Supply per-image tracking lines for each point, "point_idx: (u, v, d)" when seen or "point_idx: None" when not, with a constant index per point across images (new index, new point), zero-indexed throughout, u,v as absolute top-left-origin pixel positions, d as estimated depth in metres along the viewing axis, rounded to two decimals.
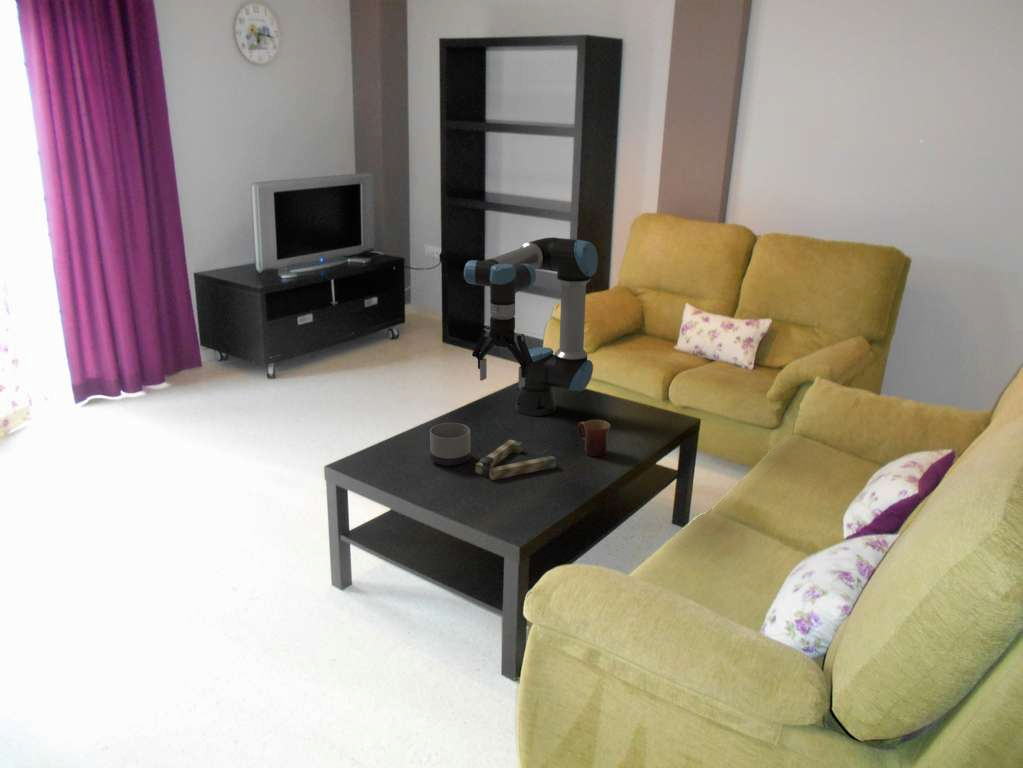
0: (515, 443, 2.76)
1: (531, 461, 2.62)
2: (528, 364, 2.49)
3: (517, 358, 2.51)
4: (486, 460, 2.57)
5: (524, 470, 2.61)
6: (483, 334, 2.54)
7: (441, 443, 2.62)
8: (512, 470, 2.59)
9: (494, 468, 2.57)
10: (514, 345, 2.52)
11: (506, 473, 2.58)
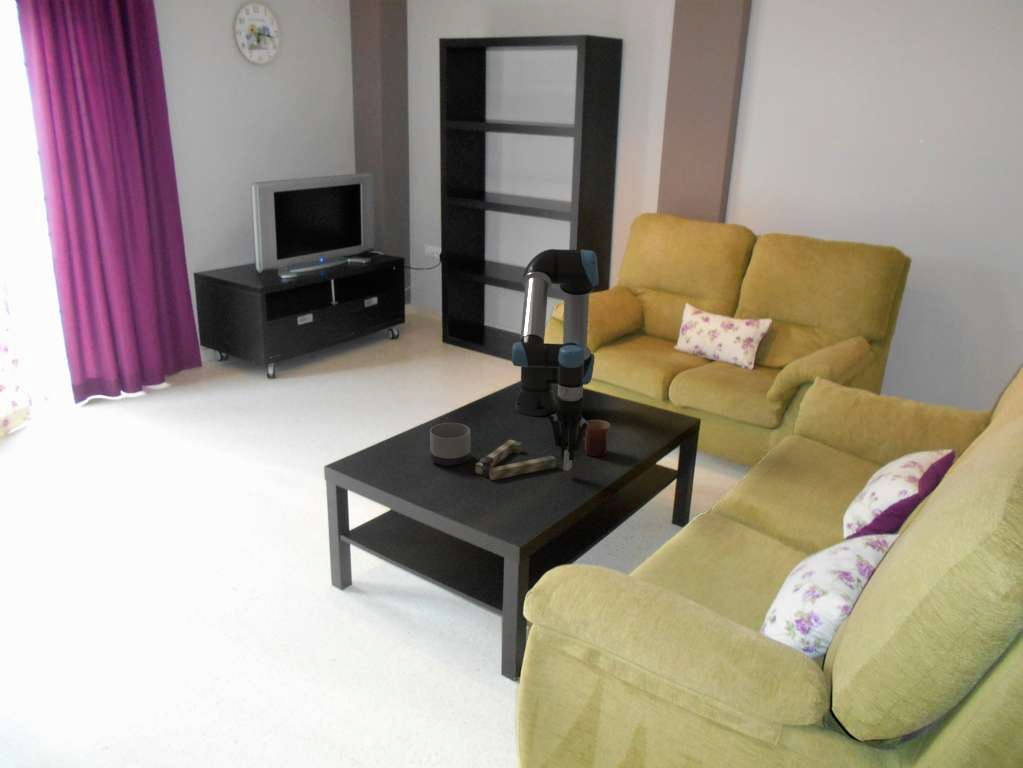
0: (515, 443, 2.76)
1: (531, 461, 2.62)
2: (576, 449, 2.53)
3: (570, 441, 2.54)
4: (486, 460, 2.57)
5: (524, 470, 2.61)
6: (552, 420, 2.55)
7: (441, 443, 2.62)
8: (512, 470, 2.59)
9: (494, 468, 2.57)
10: (575, 428, 2.54)
11: (506, 473, 2.58)
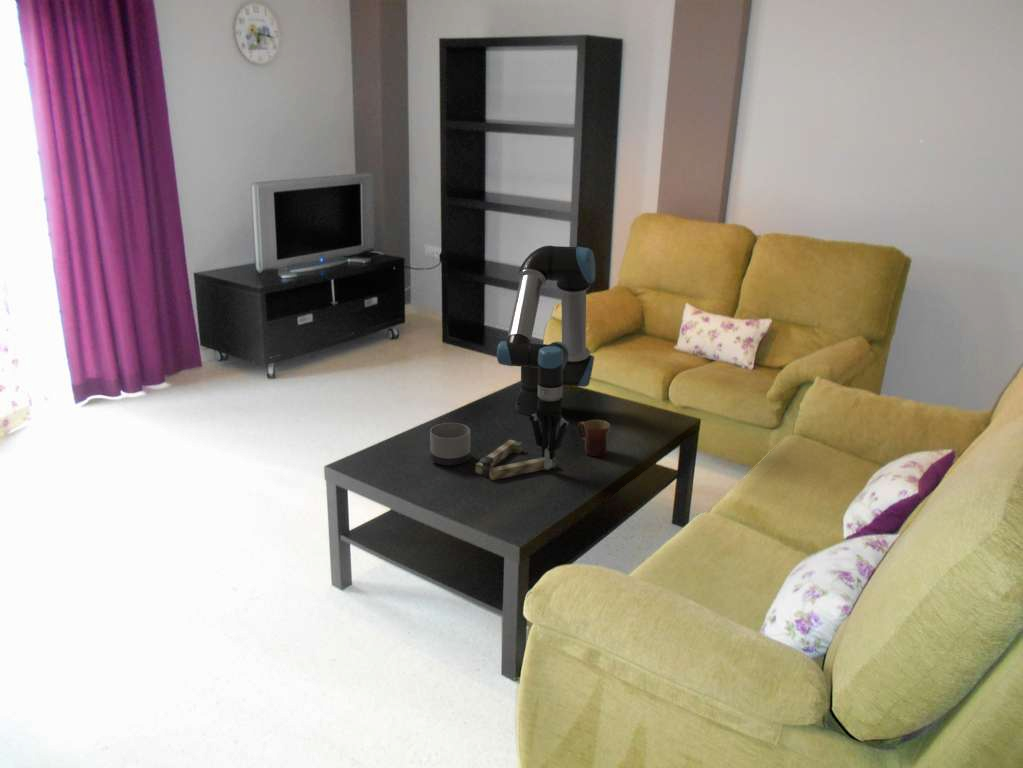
0: (515, 443, 2.76)
1: (531, 461, 2.62)
2: (556, 448, 2.57)
3: (550, 440, 2.58)
4: (486, 460, 2.57)
5: (524, 470, 2.61)
6: (533, 419, 2.58)
7: (441, 443, 2.62)
8: (512, 470, 2.59)
9: (494, 468, 2.57)
10: (555, 427, 2.57)
11: (506, 473, 2.58)
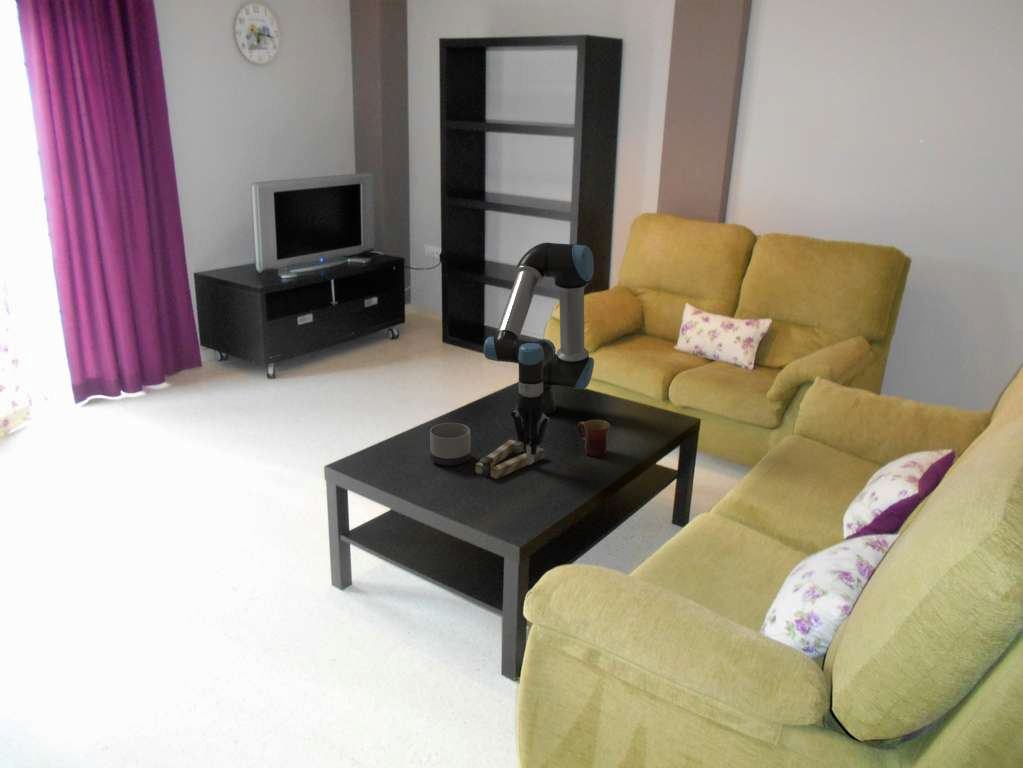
0: (515, 443, 2.76)
1: (524, 455, 2.67)
2: (537, 443, 2.60)
3: (532, 436, 2.61)
4: (486, 460, 2.57)
5: (521, 465, 2.64)
6: (514, 415, 2.62)
7: (441, 443, 2.62)
8: (512, 466, 2.61)
9: (495, 467, 2.58)
10: (536, 423, 2.60)
11: (507, 470, 2.60)
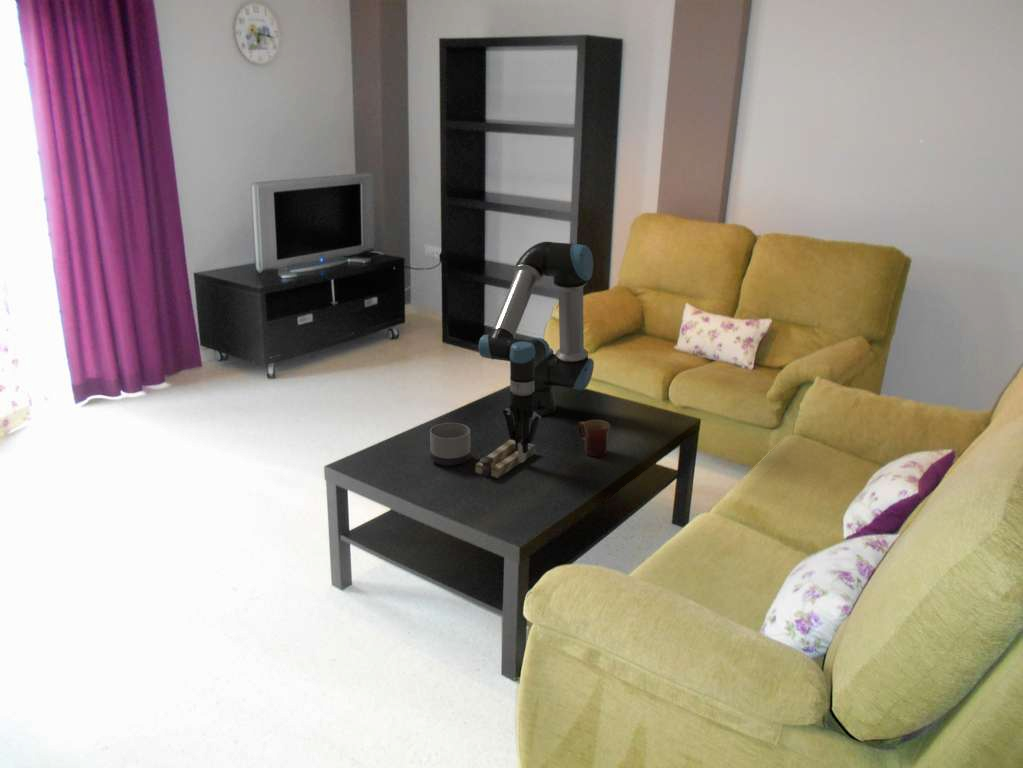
0: (515, 443, 2.76)
1: None
2: (529, 441, 2.62)
3: (523, 434, 2.62)
4: (486, 460, 2.57)
5: (517, 462, 2.66)
6: (506, 414, 2.63)
7: (441, 443, 2.62)
8: (510, 464, 2.63)
9: (495, 466, 2.59)
10: (527, 421, 2.62)
11: (506, 468, 2.61)
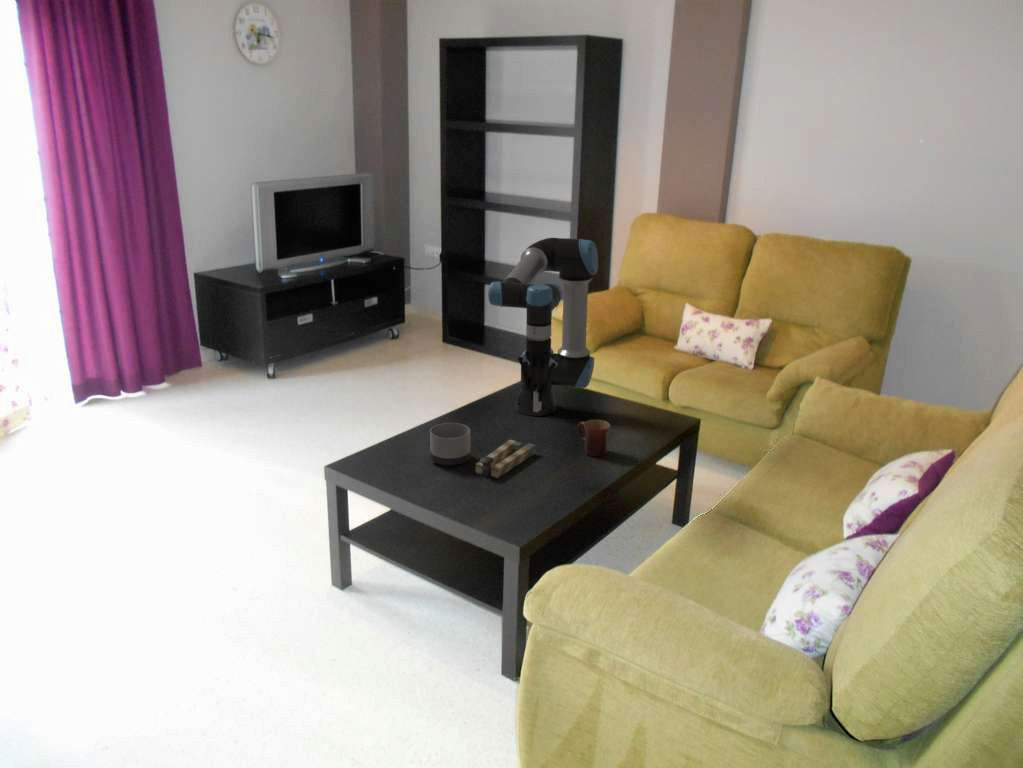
0: (515, 443, 2.76)
1: (518, 452, 2.69)
2: (545, 389, 2.53)
3: (539, 381, 2.53)
4: (486, 460, 2.57)
5: (517, 462, 2.66)
6: (521, 361, 2.54)
7: (441, 443, 2.62)
8: (510, 464, 2.63)
9: (495, 466, 2.59)
10: (544, 368, 2.53)
11: (506, 468, 2.61)
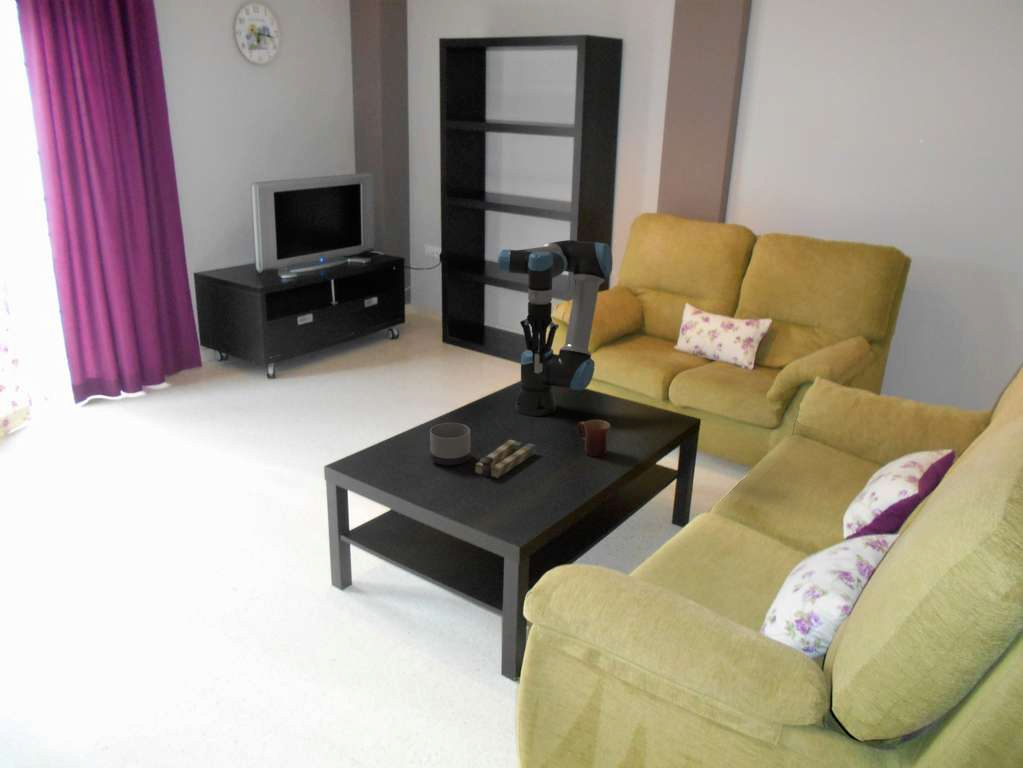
0: (515, 443, 2.76)
1: (518, 452, 2.69)
2: (546, 351, 2.67)
3: (540, 344, 2.68)
4: (486, 460, 2.57)
5: (517, 462, 2.66)
6: (523, 324, 2.69)
7: (441, 443, 2.62)
8: (510, 464, 2.63)
9: (495, 466, 2.59)
10: (545, 331, 2.67)
11: (506, 468, 2.61)
